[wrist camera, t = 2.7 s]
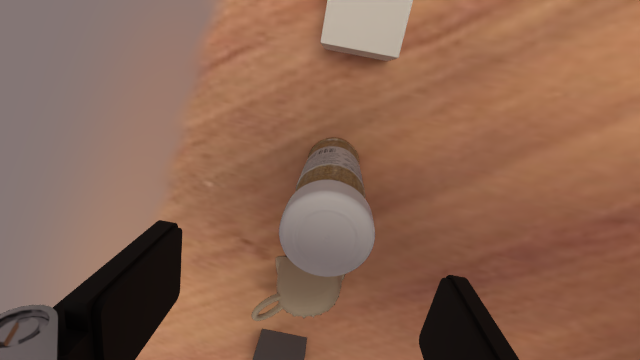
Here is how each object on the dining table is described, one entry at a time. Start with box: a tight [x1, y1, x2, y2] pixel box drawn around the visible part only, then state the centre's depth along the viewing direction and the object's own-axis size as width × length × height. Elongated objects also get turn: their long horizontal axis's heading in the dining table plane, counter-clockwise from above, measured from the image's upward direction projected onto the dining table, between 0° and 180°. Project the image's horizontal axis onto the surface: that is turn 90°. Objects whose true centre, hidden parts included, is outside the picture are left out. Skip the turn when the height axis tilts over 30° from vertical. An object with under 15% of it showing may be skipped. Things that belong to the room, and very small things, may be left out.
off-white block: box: [321, 0, 413, 61], centre depth 21 cm, size 5×5×5 cm
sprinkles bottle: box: [279, 138, 375, 277], centre depth 20 cm, size 5×5×14 cm
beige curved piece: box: [252, 256, 345, 321], centre depth 28 cm, size 4×8×5 cm, turn 96°
